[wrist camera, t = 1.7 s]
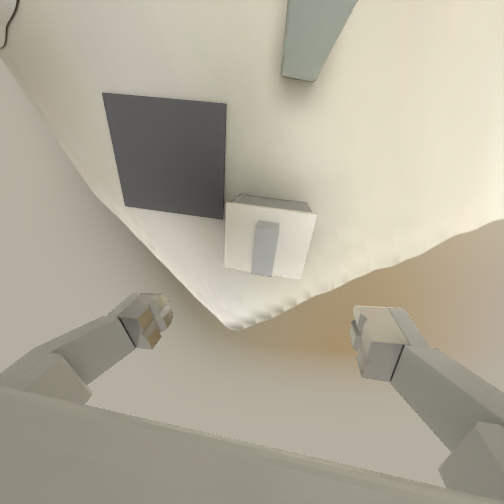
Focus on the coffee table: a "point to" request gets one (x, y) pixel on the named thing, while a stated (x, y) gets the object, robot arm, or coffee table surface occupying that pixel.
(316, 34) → the skincare box
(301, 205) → the grey storage box
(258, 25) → the coffee table surface
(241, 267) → the cream lid
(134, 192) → the black rubber mat
